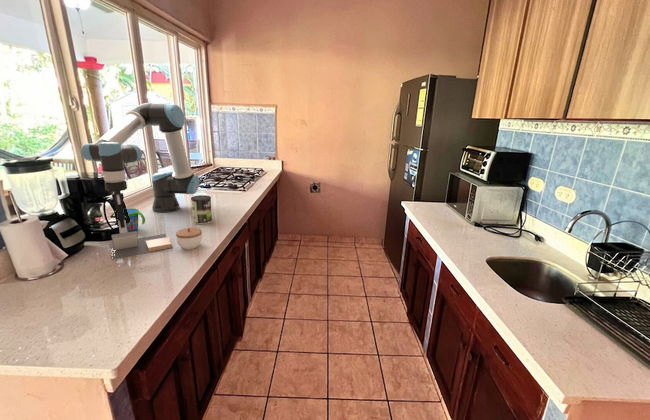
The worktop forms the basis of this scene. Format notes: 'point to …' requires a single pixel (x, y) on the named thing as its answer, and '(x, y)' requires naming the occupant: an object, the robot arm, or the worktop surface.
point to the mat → (136, 248)
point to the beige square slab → (158, 244)
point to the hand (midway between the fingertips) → (123, 233)
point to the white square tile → (125, 240)
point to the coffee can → (201, 209)
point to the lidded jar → (189, 238)
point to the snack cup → (133, 219)
